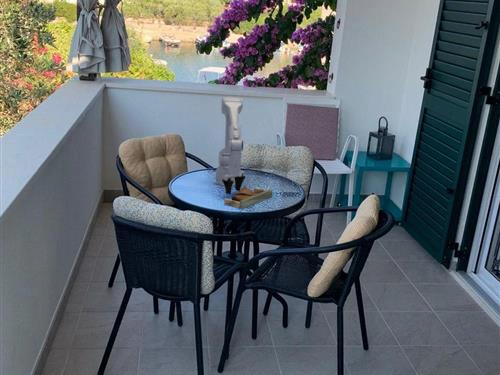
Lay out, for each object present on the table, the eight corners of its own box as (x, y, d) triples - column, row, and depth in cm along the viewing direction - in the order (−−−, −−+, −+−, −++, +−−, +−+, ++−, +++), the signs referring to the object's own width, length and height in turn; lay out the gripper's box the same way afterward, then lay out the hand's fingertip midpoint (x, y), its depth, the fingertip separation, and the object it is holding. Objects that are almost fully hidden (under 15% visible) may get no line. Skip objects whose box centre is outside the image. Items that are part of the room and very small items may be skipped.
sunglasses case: (249, 204, 260) (242, 191, 260) (235, 210, 263) (229, 197, 262) (259, 194, 277) (253, 182, 276) (246, 199, 280) (240, 187, 279)
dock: (224, 204, 259) (224, 196, 258) (254, 192, 280) (255, 185, 279) (242, 209, 254) (242, 201, 253) (272, 196, 274) (272, 189, 273)
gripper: (232, 168, 259) (230, 197, 263) (250, 163, 271) (248, 190, 275) (220, 165, 263) (218, 193, 267) (238, 160, 274) (236, 187, 278)
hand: (233, 192), depth 271 cm, fingers open, 7 cm apart
